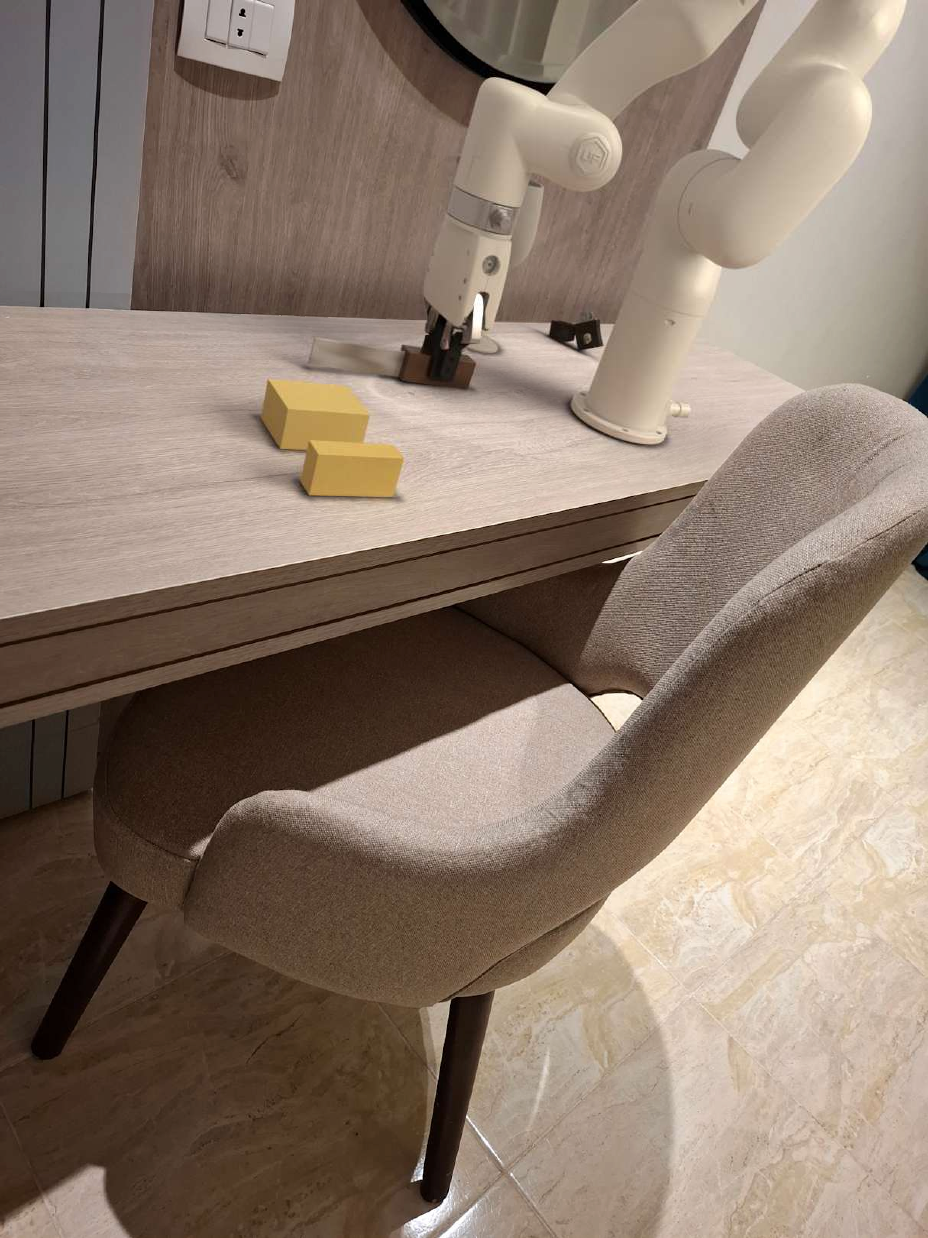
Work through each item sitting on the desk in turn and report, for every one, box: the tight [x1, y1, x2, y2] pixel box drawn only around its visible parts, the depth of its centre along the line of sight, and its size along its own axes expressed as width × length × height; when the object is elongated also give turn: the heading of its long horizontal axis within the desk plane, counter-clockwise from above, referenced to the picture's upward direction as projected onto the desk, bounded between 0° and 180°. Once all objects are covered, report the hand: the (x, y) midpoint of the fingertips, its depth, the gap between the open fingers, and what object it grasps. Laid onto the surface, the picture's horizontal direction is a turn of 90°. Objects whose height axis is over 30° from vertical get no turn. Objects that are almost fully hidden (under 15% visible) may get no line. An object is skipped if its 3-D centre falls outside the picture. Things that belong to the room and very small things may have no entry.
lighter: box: [548, 311, 604, 352], centre depth 134 cm, size 8×2×5 cm
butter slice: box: [299, 440, 405, 498], centre depth 78 cm, size 8×2×4 cm, turn 117°
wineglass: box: [453, 179, 545, 354], centre depth 118 cm, size 8×8×21 cm
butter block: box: [260, 378, 371, 451], centre depth 84 cm, size 8×6×4 cm
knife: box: [308, 336, 478, 390], centre depth 103 cm, size 20×2×3 cm, turn 117°
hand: (434, 373), depth 106 cm, fingers closed on knife, 2 cm apart
